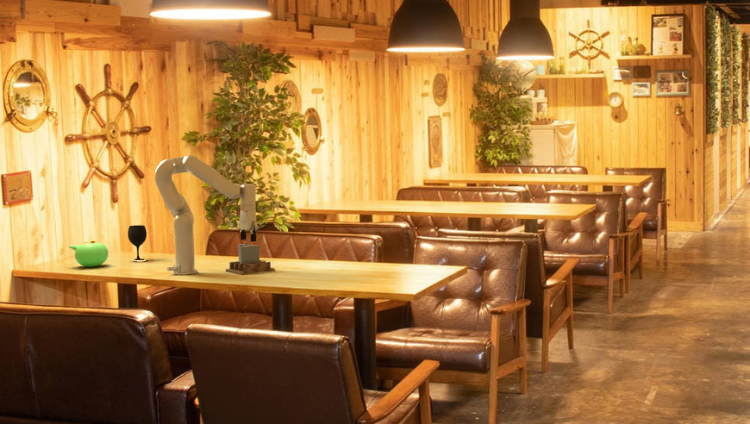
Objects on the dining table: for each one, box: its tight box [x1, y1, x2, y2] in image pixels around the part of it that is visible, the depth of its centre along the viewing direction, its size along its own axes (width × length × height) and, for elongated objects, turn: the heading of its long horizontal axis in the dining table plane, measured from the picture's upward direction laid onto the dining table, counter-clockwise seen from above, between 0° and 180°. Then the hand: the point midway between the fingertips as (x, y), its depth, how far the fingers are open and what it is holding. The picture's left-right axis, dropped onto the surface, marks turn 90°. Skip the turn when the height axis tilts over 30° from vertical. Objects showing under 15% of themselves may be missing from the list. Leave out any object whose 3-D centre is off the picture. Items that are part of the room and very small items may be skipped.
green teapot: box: [68, 239, 109, 268], centre depth 522 cm, size 18×17×15 cm
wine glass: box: [127, 224, 148, 260], centre depth 542 cm, size 10×10×20 cm
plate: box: [238, 244, 260, 264], centre depth 497 cm, size 11×2×12 cm, turn 130°
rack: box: [225, 259, 276, 276], centre depth 498 cm, size 20×16×5 cm
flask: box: [237, 241, 253, 250], centre depth 538 cm, size 9×3×11 cm, turn 65°
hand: (248, 240), depth 497 cm, fingers open, 9 cm apart
